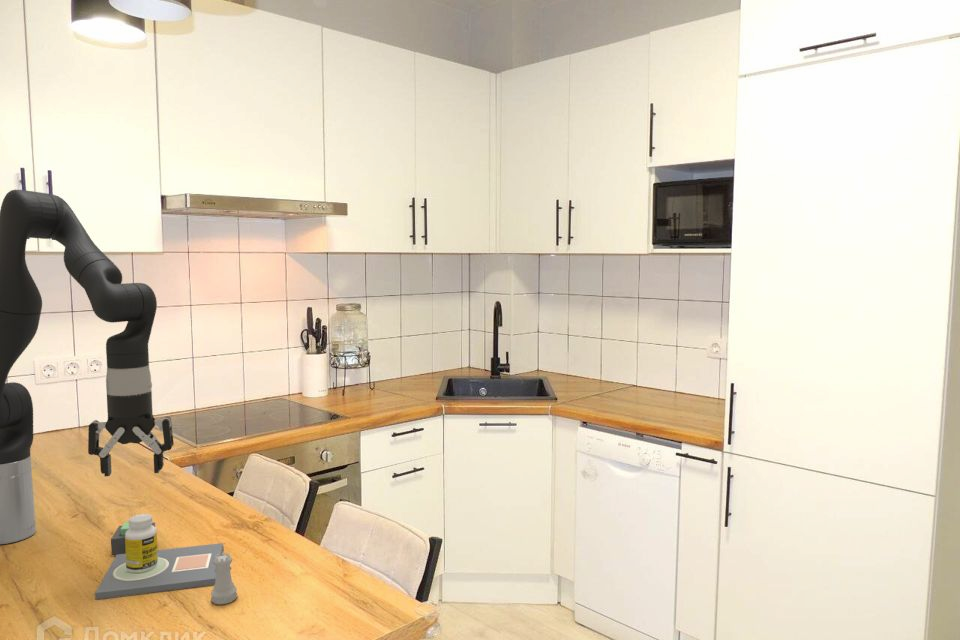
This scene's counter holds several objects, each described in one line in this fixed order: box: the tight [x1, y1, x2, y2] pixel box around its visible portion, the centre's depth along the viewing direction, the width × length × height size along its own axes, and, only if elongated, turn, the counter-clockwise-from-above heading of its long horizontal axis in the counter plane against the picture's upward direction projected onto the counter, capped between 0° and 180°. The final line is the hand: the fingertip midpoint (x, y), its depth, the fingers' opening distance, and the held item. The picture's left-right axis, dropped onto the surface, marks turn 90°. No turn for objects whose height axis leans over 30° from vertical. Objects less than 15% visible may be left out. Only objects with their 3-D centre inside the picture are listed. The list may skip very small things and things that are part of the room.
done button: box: [120, 521, 130, 536], centre depth 142 cm, size 4×4×2 cm
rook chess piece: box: [210, 552, 238, 606], centre depth 121 cm, size 4×4×8 cm
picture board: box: [94, 542, 225, 601], centre depth 131 cm, size 20×16×1 cm
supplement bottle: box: [125, 513, 158, 573], centre depth 130 cm, size 5×5×10 cm
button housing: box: [110, 521, 156, 557], centre depth 143 cm, size 7×7×4 cm
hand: (133, 473), depth 130 cm, fingers open, 8 cm apart
